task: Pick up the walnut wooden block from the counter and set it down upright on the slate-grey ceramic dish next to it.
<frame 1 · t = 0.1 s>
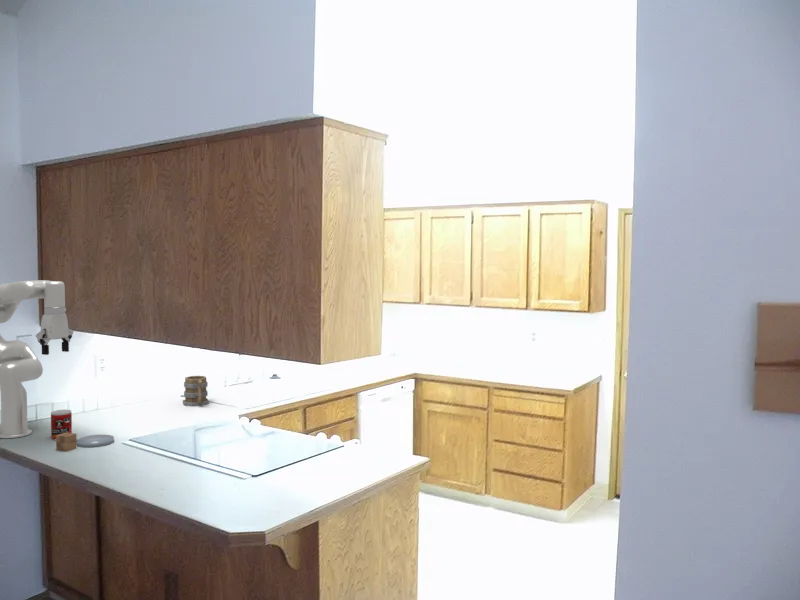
hand: (55, 353, 264), 37 cm above the countertop, tool pointing down, fingers open, 9 cm apart
walnut block: (66, 449, 255), on the countertop
dish: (95, 442, 264), on the countertop
canned food: (61, 437, 271), on the countertop
tankard: (196, 405, 336), on the countertop
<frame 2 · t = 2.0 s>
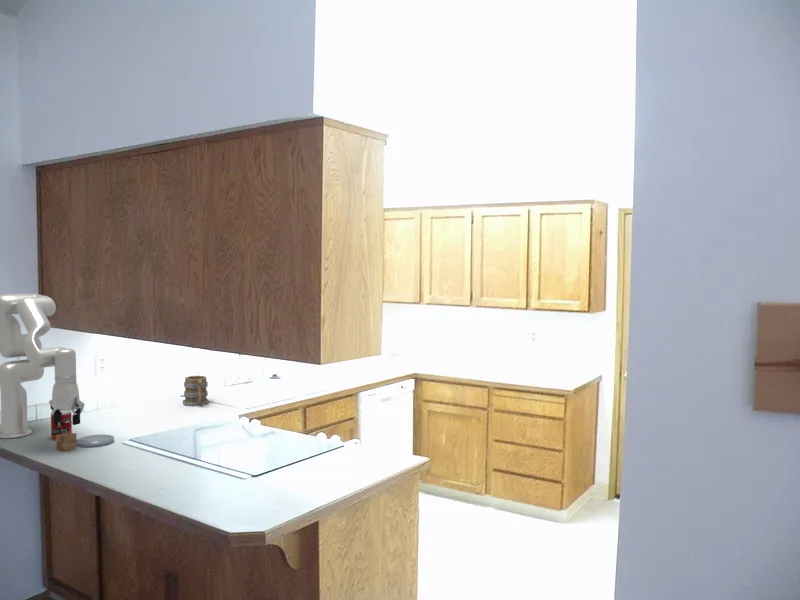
hand: (67, 423, 254), 10 cm above the countertop, tool pointing down, fingers open, 9 cm apart
nothing on the countertop moved.
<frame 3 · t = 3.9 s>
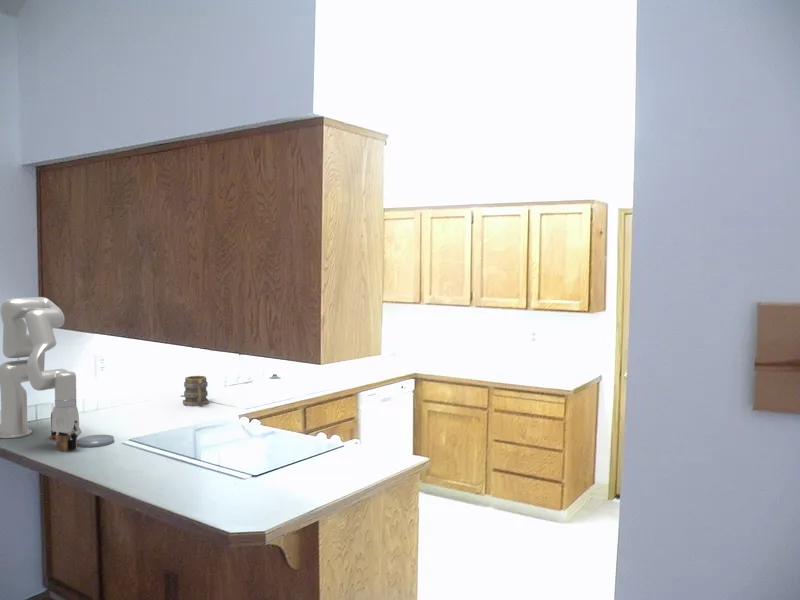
hand: (66, 448, 255), 0 cm above the countertop, tool pointing down, fingers closed on walnut block, 5 cm apart
walnut block: (66, 449, 255), on the countertop, touching gripper
everything else where it was.
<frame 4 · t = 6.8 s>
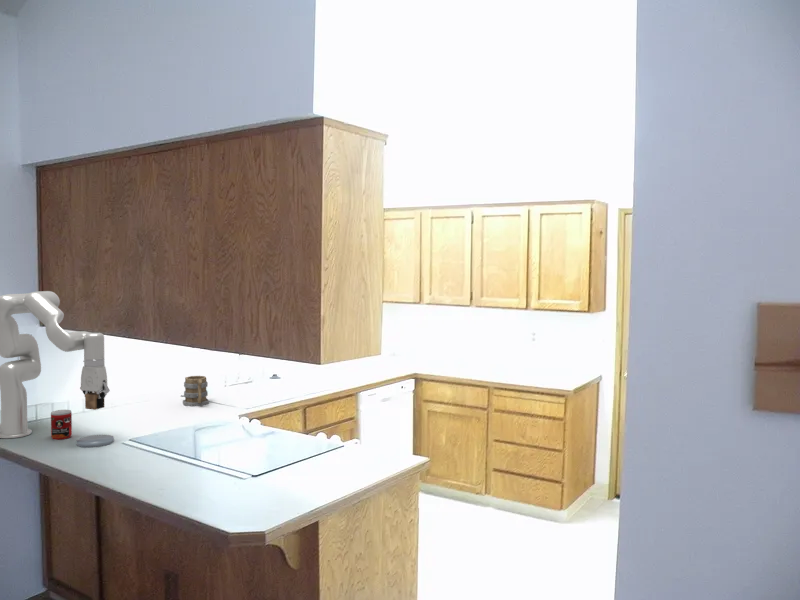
hand: (94, 406, 263), 15 cm above the countertop, tool pointing down, fingers closed on walnut block, 5 cm apart
walnut block: (94, 407, 263), point 14 cm above the countertop, touching gripper
everything else where it was.
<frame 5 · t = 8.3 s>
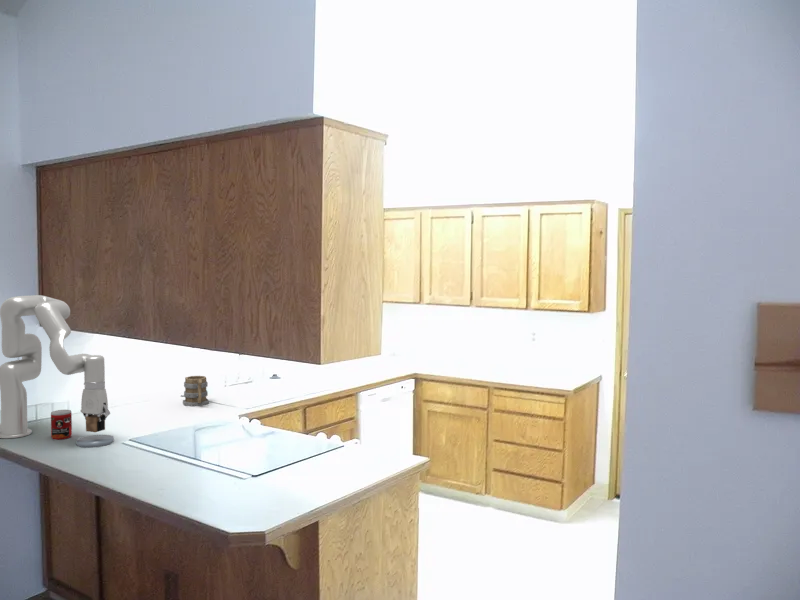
hand: (95, 429, 264), 6 cm above the countertop, tool pointing down, fingers closed on walnut block, 5 cm apart
walnut block: (95, 430, 264), point 5 cm above the countertop, touching gripper
everything else where it was.
when the fingers open (3 cm above the countertop, at t = 9.6 s): walnut block drops 1 cm, resting on dish.
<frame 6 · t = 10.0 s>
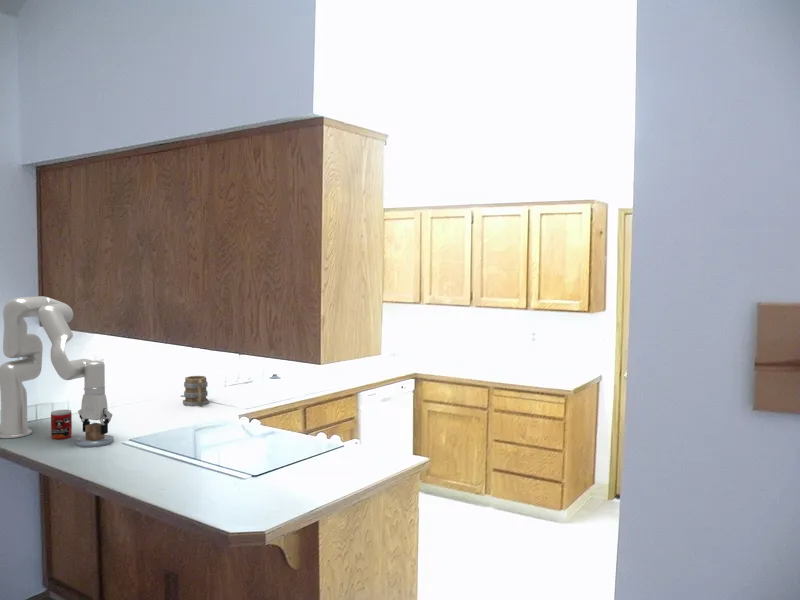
hand: (95, 432, 264), 4 cm above the countertop, tool pointing down, fingers open, 9 cm apart
walnut block: (95, 439, 264), point 1 cm above the countertop, touching dish
everything else where it was.
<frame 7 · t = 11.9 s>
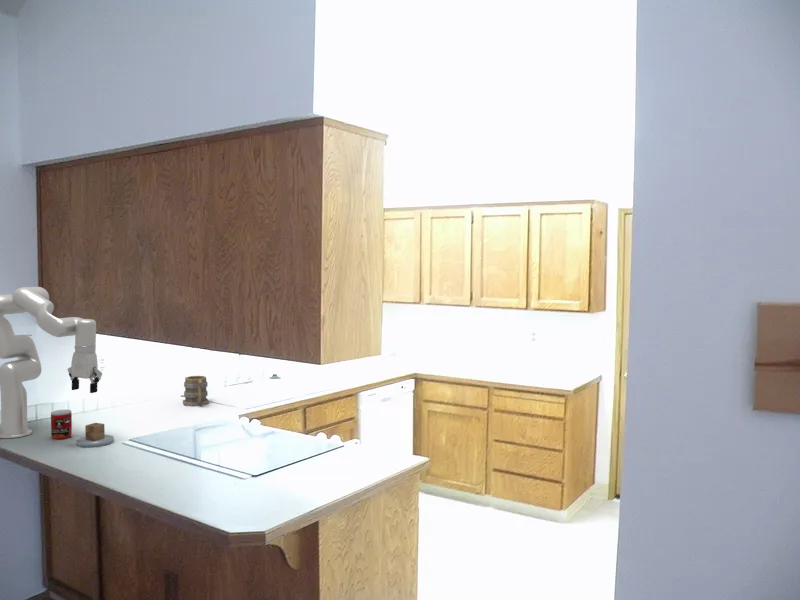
hand: (84, 390, 263), 21 cm above the countertop, tool pointing down, fingers open, 9 cm apart
nothing on the countertop moved.
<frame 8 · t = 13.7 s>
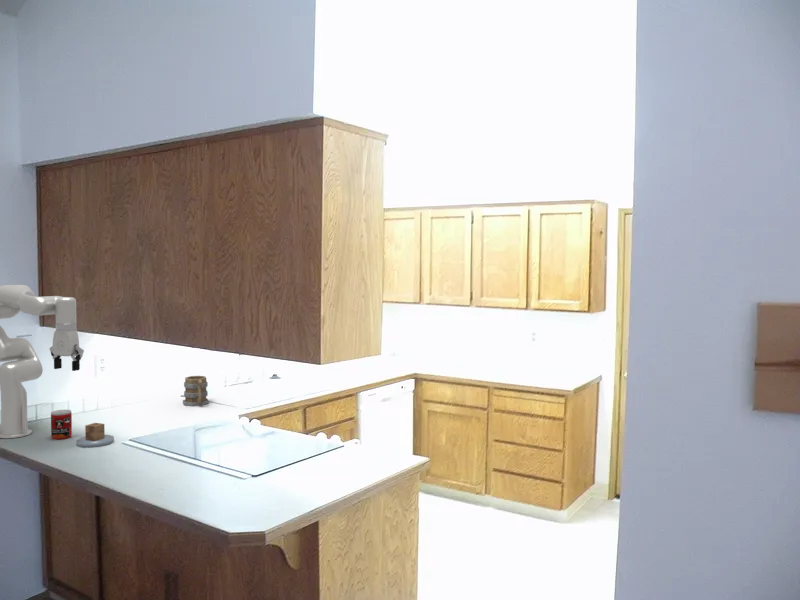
hand: (66, 369, 262), 30 cm above the countertop, tool pointing down, fingers open, 9 cm apart
nothing on the countertop moved.
at the end: walnut block inside the target area on the dish (0.1 cm from its centre), point 1.5 cm above the dish's base; walnut block tilted 0°; the gripper is holding nothing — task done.
